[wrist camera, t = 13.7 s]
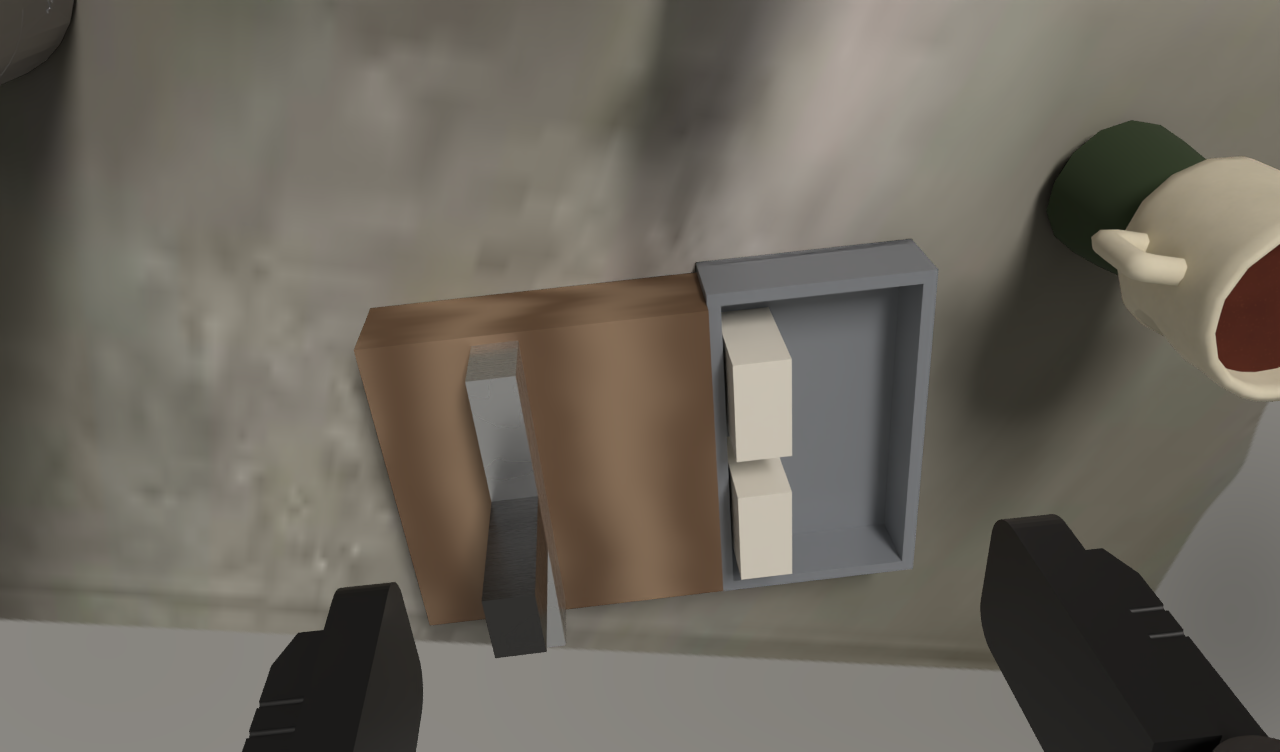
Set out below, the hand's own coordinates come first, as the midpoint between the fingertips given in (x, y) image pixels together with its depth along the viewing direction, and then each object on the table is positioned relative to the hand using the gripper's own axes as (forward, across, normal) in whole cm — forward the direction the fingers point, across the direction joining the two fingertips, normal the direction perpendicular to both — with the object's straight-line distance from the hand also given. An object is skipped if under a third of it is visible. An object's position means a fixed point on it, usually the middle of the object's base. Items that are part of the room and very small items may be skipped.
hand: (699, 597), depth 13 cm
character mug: (+30, -22, +6) cm, 38 cm away
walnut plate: (+30, +4, +17) cm, 34 cm away
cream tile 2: (+27, -4, +20) cm, 34 cm away
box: (+30, -9, +17) cm, 35 cm away
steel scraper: (+26, +5, +17) cm, 31 cm away
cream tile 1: (+27, -4, +13) cm, 30 cm away
